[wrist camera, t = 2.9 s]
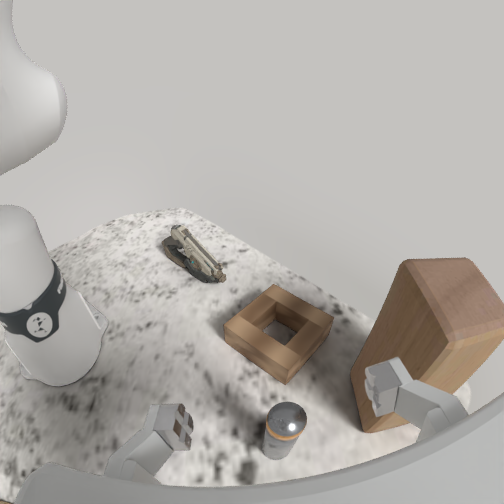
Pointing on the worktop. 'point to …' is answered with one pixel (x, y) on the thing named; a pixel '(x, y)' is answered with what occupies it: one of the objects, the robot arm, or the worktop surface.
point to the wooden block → (431, 330)
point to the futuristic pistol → (192, 255)
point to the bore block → (268, 349)
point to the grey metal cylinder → (283, 429)
